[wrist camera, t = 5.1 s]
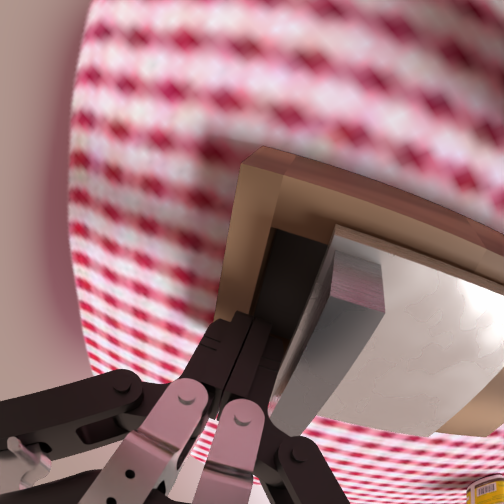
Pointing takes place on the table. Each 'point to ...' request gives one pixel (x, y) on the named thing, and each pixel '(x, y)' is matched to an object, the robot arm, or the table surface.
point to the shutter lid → (388, 340)
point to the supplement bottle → (486, 491)
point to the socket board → (317, 239)
